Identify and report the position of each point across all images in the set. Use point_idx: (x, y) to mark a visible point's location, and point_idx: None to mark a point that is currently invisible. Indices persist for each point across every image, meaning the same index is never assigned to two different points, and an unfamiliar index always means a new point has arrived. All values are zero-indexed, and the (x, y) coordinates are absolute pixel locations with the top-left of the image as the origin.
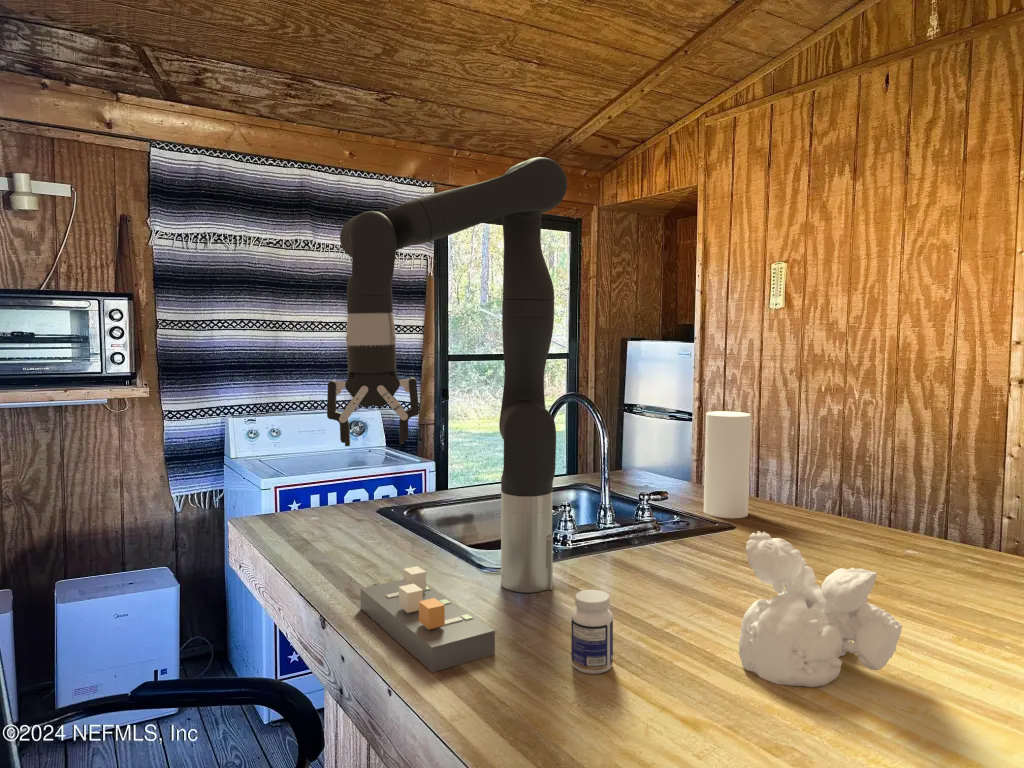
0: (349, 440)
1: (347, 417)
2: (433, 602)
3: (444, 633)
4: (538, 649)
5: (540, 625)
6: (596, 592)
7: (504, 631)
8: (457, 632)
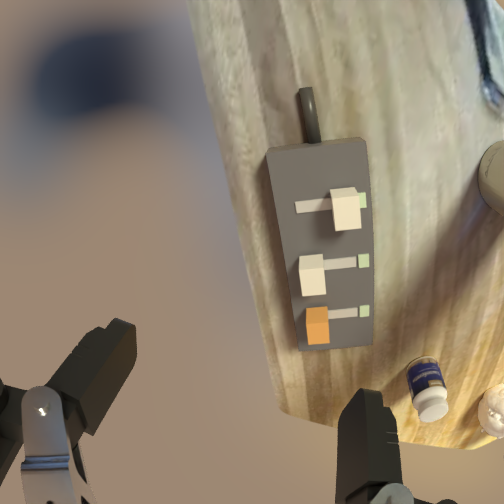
0: (126, 367)
1: (77, 456)
2: (321, 332)
3: None
4: (408, 333)
5: (445, 292)
6: (442, 410)
7: (407, 290)
8: (336, 335)
